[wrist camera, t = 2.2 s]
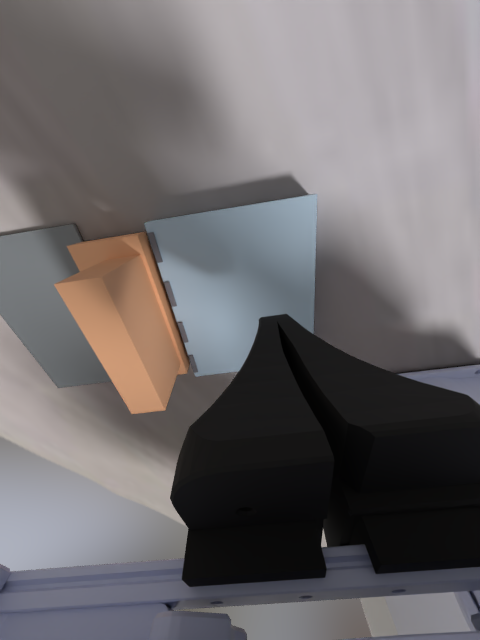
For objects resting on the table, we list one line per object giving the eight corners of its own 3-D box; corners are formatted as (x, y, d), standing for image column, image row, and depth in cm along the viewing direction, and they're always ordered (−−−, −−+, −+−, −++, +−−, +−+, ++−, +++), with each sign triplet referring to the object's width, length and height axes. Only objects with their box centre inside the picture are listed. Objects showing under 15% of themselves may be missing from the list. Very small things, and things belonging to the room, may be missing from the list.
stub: (145, 231, 12) (93, 250, 8) (189, 363, 17) (173, 420, 13) (80, 242, 13) (-6, 266, 8) (142, 368, 18) (109, 428, 13)
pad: (74, 223, 12) (72, 223, 12) (148, 375, 18) (147, 377, 18) (-51, 244, 13) (-55, 245, 13) (59, 386, 19) (58, 387, 19)
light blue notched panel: (309, 194, 12) (317, 194, 11) (307, 351, 17) (313, 363, 16) (152, 220, 12) (142, 223, 11) (198, 364, 18) (195, 377, 17)
